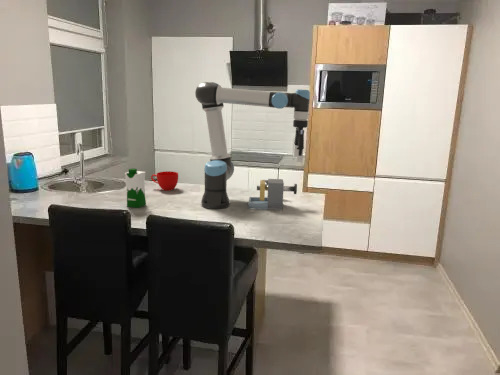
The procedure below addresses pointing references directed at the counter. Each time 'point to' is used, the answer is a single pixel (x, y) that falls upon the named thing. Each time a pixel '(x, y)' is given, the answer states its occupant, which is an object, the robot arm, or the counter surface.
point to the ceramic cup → (166, 180)
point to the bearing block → (275, 194)
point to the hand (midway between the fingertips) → (297, 159)
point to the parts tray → (257, 203)
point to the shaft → (286, 188)
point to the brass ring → (262, 190)
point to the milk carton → (135, 188)
